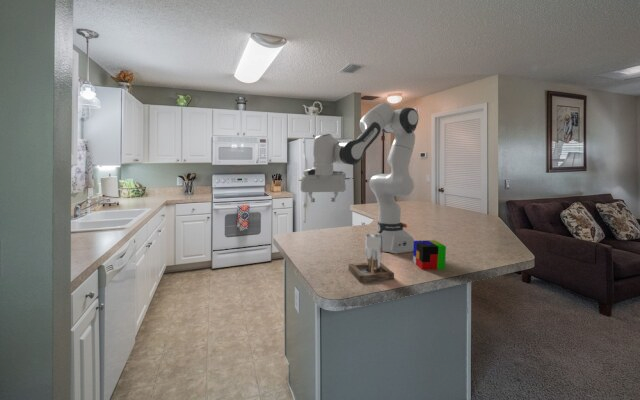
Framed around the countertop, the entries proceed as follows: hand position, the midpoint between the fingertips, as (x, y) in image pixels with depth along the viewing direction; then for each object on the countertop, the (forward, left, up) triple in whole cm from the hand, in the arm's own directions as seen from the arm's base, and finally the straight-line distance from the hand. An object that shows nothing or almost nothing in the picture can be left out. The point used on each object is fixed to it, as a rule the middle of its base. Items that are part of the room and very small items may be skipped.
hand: (323, 202), depth 137 cm
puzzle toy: (-44, +16, -27) cm, 54 cm away
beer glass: (-17, +20, -27) cm, 37 cm away
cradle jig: (-15, +21, -27) cm, 37 cm away
